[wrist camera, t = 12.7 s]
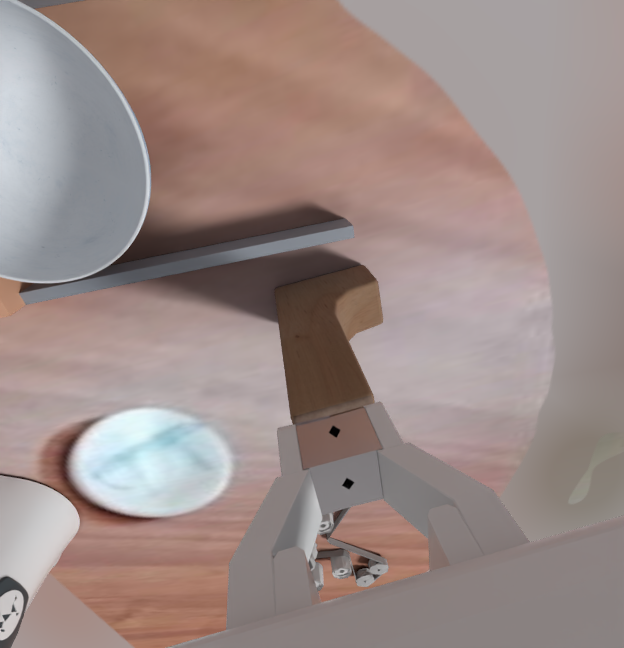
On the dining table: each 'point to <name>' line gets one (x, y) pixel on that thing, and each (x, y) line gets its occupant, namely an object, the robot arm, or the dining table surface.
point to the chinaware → (63, 155)
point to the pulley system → (344, 557)
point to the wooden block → (326, 341)
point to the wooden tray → (12, 295)
